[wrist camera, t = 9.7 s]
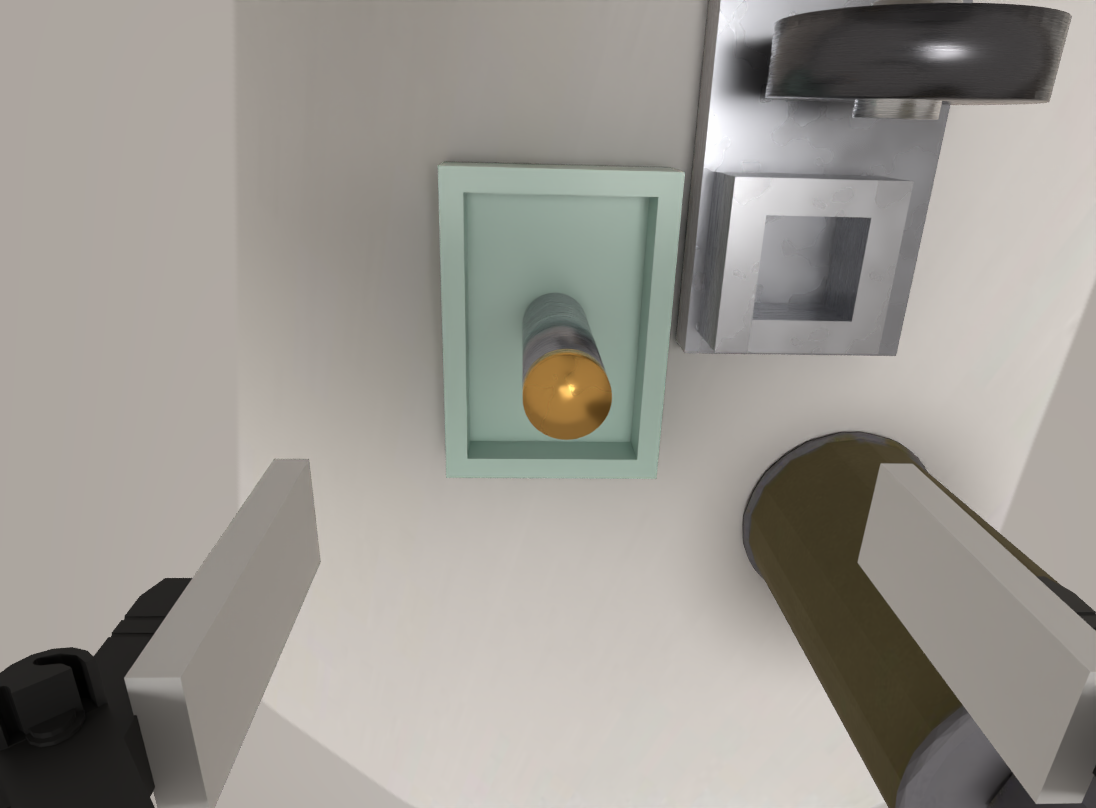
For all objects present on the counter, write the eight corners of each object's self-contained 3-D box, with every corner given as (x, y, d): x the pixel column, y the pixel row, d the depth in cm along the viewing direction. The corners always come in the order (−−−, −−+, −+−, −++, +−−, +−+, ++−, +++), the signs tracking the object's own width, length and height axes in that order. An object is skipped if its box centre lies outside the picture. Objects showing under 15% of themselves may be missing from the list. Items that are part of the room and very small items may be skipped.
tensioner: (712, -40, 29) (819, -126, 19) (951, -30, 30) (1182, -109, 19) (675, 340, 35) (741, 432, 25) (876, 343, 35) (1022, 434, 25)
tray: (444, 161, 31) (437, 165, 29) (670, 167, 32) (684, 172, 29) (451, 450, 37) (446, 477, 34) (645, 451, 37) (656, 478, 34)
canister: (710, 569, 40) (879, 960, 21) (795, 405, 36) (1085, 702, 18) (878, 618, 42) (1170, 1019, 23) (975, 466, 38) (1408, 794, 20)
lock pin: (522, 292, 33) (522, 354, 23) (588, 293, 33) (614, 356, 23) (522, 355, 34) (521, 439, 24) (585, 356, 34) (609, 440, 25)
